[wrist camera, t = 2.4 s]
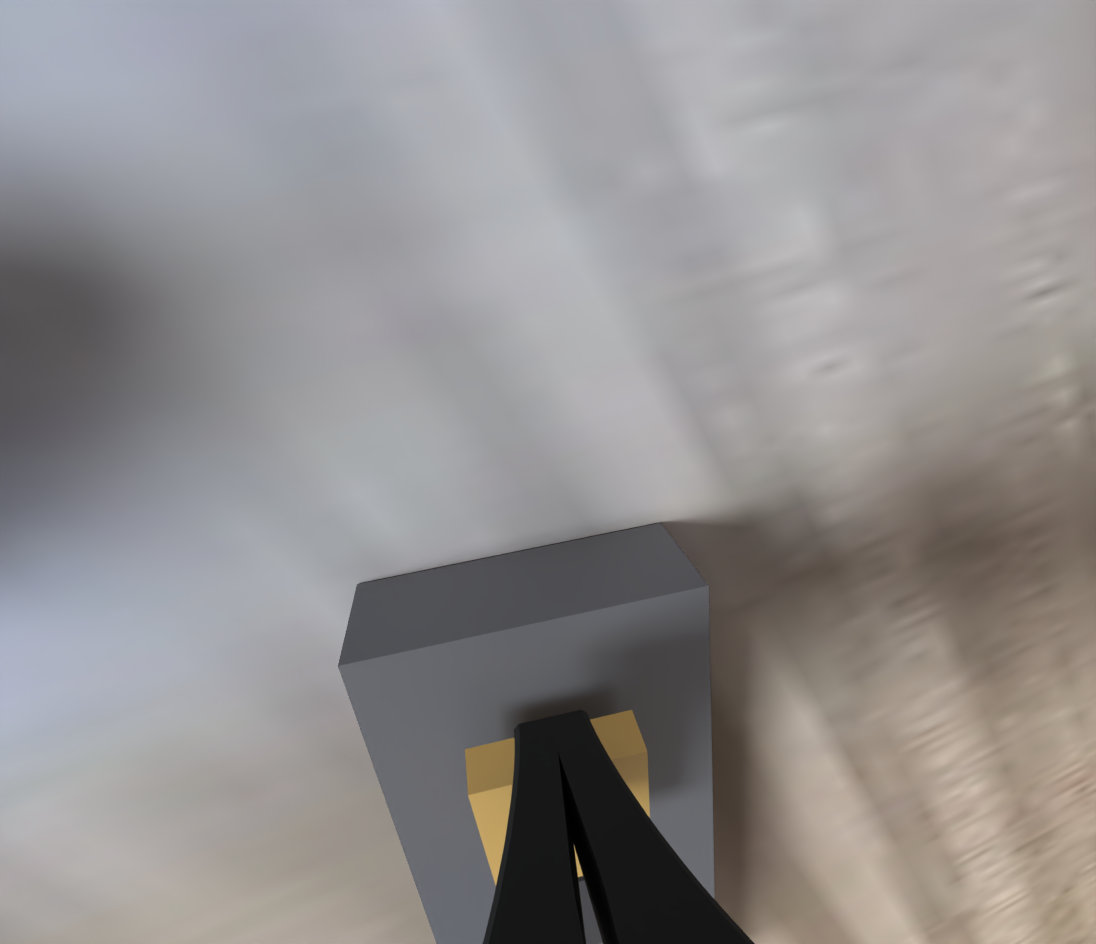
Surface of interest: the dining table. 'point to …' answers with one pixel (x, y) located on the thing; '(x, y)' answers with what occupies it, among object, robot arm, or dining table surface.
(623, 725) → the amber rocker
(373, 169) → the dining table surface
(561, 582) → the power strip
